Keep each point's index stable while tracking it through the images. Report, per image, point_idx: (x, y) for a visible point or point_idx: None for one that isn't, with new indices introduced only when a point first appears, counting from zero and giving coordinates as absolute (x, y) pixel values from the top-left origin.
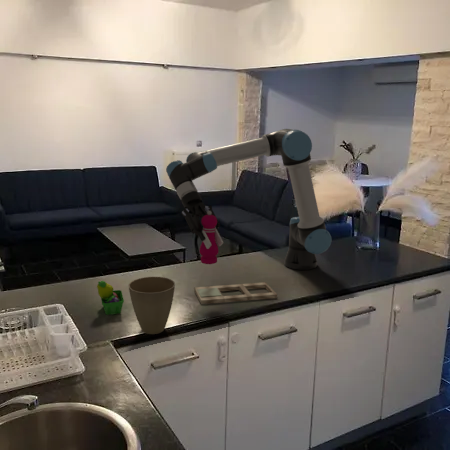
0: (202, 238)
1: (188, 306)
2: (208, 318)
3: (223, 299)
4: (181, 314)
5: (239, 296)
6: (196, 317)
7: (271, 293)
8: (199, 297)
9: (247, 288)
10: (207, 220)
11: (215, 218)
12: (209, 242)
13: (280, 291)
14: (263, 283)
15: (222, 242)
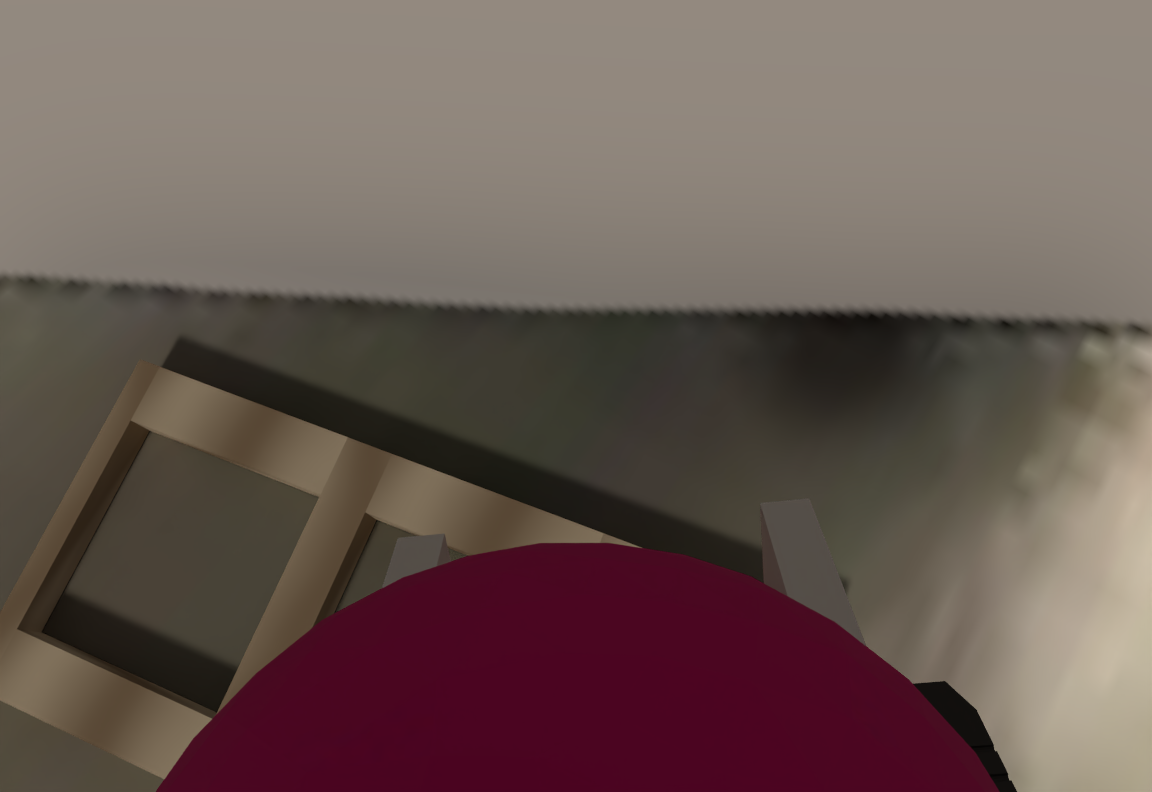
0: (967, 716)
1: (974, 649)
2: (926, 320)
3: (614, 539)
4: (1118, 515)
5: (449, 500)
6: (1014, 388)
7: (161, 402)
8: None
9: (195, 704)
10: (923, 704)
11: (336, 635)
12: (804, 546)
13: (10, 479)
14: (6, 665)
15: (429, 537)
